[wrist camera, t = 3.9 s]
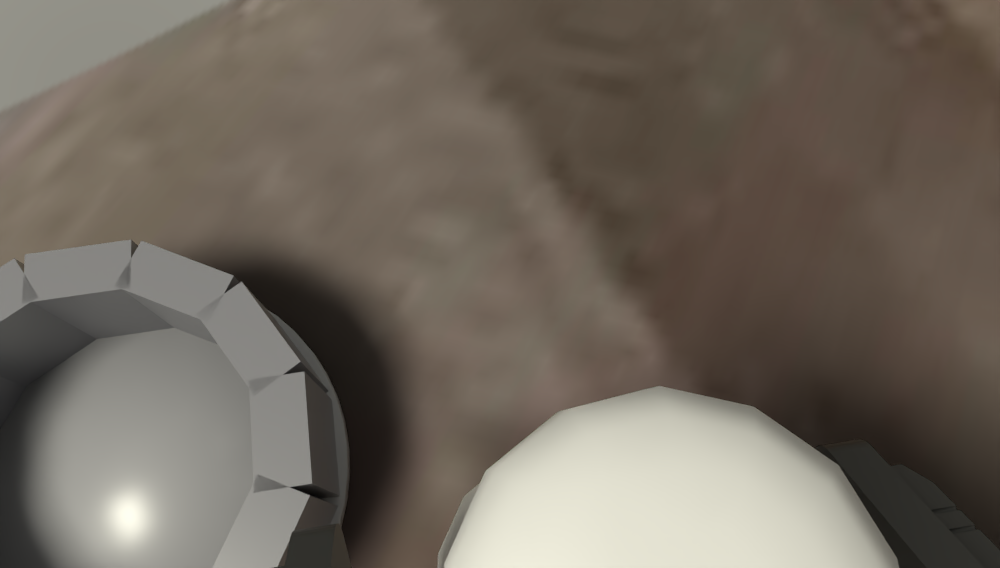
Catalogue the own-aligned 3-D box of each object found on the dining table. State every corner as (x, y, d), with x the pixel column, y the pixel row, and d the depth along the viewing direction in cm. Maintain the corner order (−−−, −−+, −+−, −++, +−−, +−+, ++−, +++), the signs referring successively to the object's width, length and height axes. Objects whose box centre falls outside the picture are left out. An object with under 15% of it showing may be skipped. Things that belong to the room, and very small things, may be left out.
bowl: (332, 261, 21) (303, 206, 18) (369, 671, 18) (340, 696, 14) (-51, 316, 21) (-155, 269, 17) (-94, 752, 17) (-235, 797, 14)
